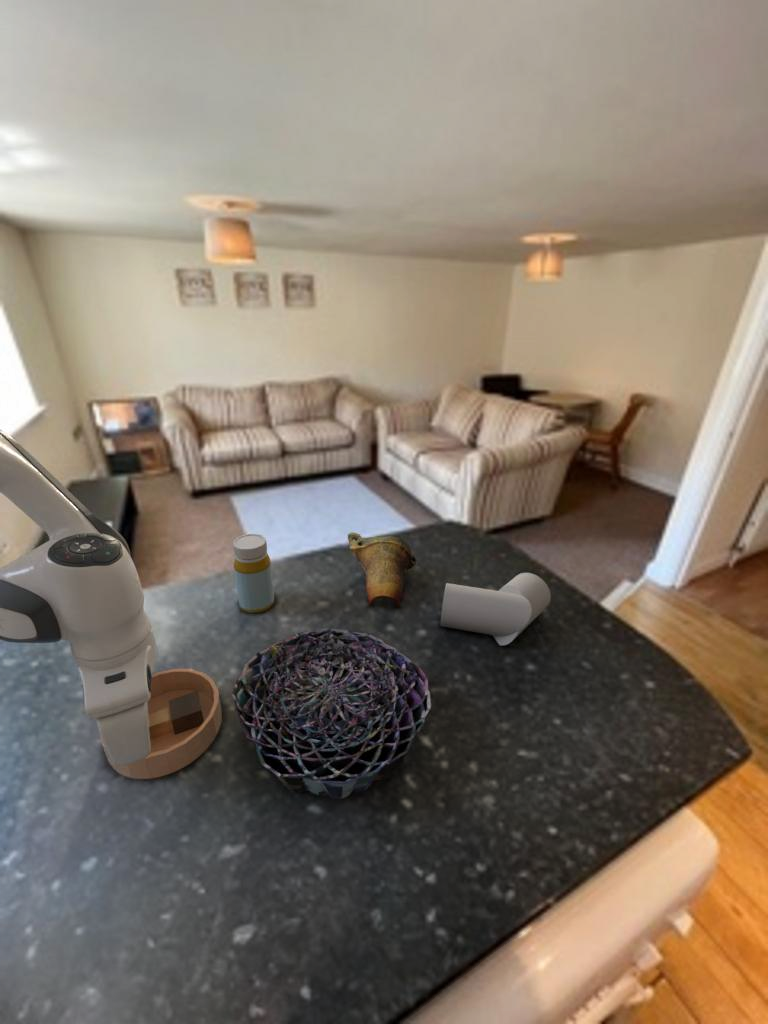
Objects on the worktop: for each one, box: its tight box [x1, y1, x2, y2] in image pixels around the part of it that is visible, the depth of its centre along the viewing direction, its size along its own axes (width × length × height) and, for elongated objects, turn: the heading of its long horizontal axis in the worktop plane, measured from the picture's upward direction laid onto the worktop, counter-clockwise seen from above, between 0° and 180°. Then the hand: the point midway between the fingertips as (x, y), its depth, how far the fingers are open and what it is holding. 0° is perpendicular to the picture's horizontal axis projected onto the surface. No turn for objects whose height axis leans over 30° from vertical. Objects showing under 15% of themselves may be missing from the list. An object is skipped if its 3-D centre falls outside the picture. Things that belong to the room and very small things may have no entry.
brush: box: [148, 691, 204, 739], centre depth 65 cm, size 10×4×3 cm, turn 118°
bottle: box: [232, 533, 275, 614], centre depth 89 cm, size 7×7×15 cm
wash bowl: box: [98, 668, 223, 780], centre depth 64 cm, size 15×15×4 cm
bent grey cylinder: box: [440, 572, 552, 646], centre depth 87 cm, size 18×11×20 cm
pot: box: [347, 532, 418, 608], centre depth 98 cm, size 17×11×18 cm
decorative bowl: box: [231, 627, 432, 800], centre depth 64 cm, size 26×28×10 cm
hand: (140, 728), depth 63 cm, fingers closed on brush, 2 cm apart
